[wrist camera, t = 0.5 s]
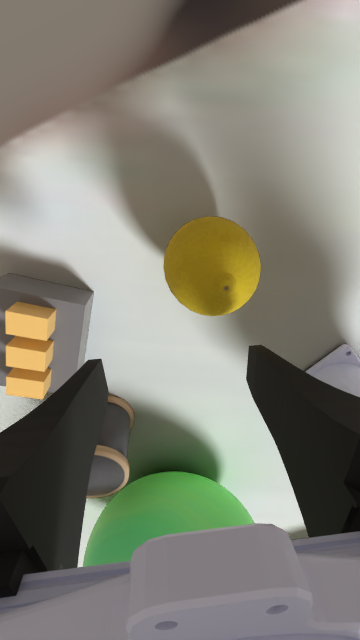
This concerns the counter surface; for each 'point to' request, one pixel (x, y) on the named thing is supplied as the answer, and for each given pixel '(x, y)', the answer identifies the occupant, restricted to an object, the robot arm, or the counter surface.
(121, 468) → the cord spool
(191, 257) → the lemon
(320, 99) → the counter surface
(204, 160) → the counter surface
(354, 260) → the counter surface
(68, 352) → the breaker strip
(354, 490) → the robot arm
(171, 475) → the green toy teapot
